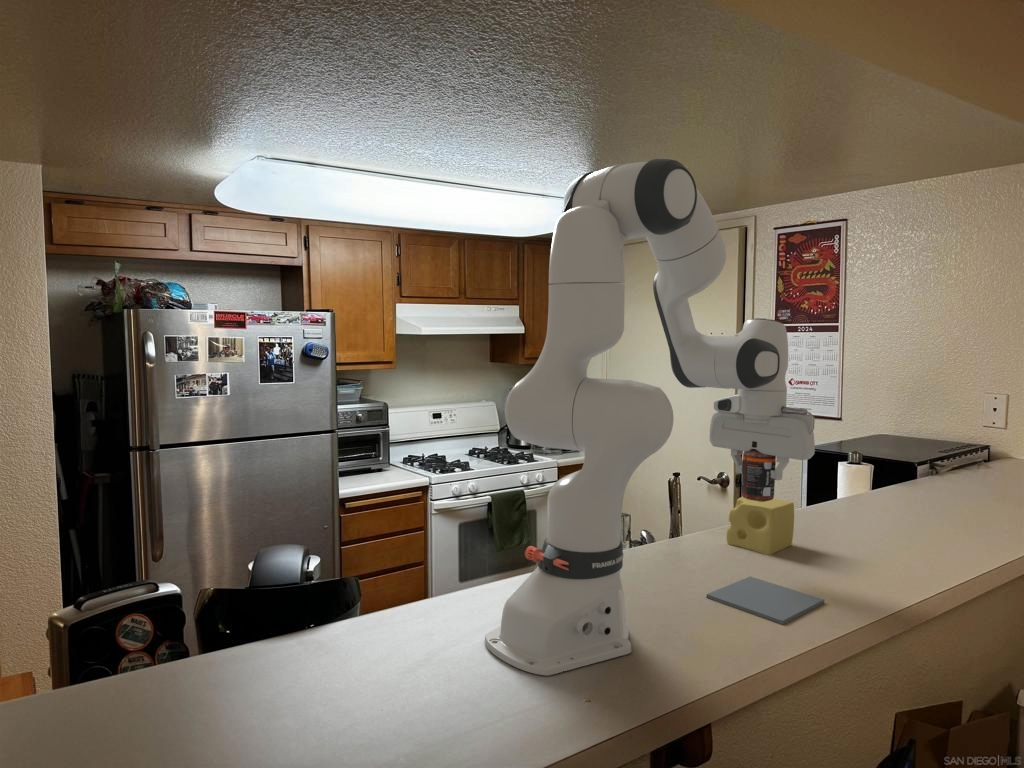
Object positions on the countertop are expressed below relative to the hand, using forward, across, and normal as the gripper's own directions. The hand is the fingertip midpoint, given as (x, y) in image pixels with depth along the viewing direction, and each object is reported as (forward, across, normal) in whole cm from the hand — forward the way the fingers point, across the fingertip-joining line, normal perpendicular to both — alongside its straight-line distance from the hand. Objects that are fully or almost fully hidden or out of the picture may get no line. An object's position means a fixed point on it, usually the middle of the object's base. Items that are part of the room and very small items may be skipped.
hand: (758, 476), depth 131 cm
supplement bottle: (+4, 0, 0) cm, 4 cm away
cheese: (+19, +8, -16) cm, 26 cm away
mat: (+19, -9, +12) cm, 24 cm away
